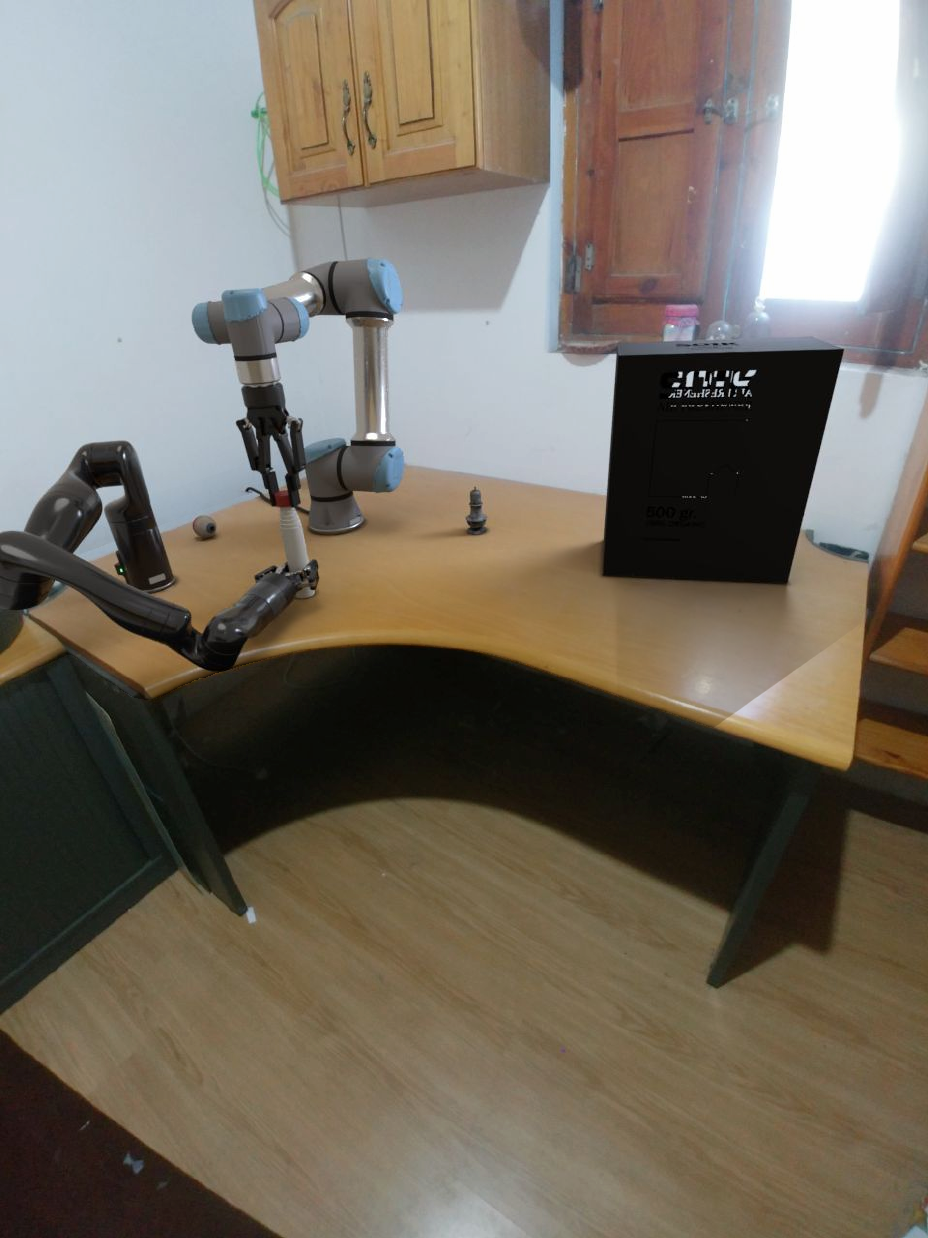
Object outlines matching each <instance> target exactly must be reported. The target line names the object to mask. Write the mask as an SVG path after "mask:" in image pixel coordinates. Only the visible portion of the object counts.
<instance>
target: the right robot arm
mask: <svg viewBox="0 0 928 1238" xmlns="http://www.w3.org/2000/svg"><path fill="white" fill-rule="evenodd" d="M403 302H404V301H403V289H402V285H401V280H400V278H399V275H398V272H397V270H396V269H395V267H394V266H393V264H392V263H391V262H390V261H388V260H387V259H385V258H372V257H368V258H362V259H361V258H360V259H349V260H334V261H326V262H324V263H320V264H317V265H315V266H312V267H308V268H306V269H304V270H301V271H298V272H295V273H293V274H292V275H290V277H289V278H288V280H286V281H283V282H279V283H276V284H272V285H269V286H266V287H262V288H259V287H256V288H255V287H253V288H239V289H226V290H223V292H222V293H221V300H217V301H216V300H215V301H211V300H208V301H205V302H199V303H197V304H196V305H195V306H194V307H193V308H192V311H191V324H192V327H193V330H194V333H195V335H196V336H197V337H198V339H199V340H201V341H202V342H204V343H205V344H209V345H218V346H221V345H228V344H229V345H230V346H231V349H232V353H233V359H234V365H235V370H236V373H237V379H238V383H239V384H240V385H243V386H241V388H240V392H241V395H242V400H243V405H244V407H245V408H246V413H245V414H246V415H245V417H243V418H240V419H237V420H236V421H235V426H236V427H237V429H238V430H239V432H240V434H241V438H242V441H243V446H244V449H245V453H246V455H247V456H246V457H247V459H248V463H249V466H250V469H251V471H253V472H258V473H259V474H260V475H261V479H262V484H263V488H264V489H265V490H267V492H268V496H269V497H268V496H267V497H266V496H265V495H264V492H262V491H260V490H259V489H256V488H254V487H252V486H248V487H246V488H245V490H244V492H246V493H247V492H249V491H252V492H254V493H256V494H258V495H259V496H260V497H261V498H262V499H263V500H264V501H266V502H268V503H270V505H271V507H272V508H273V507H274V508H275V507H277V506H276V502H275V497H274V494H275V493H276V492H279V491H280V487H279V482H278V478H277V473H276V470H275V471H274V470H273V469H274V467H272V455H271V453H272V452H271V437H272V439H273V441H274V442H275V443H276V446H277V448H278V452H279V453H280V456H281V459H282V462H283V464H284V467H285V470H286V472H287V473H285V475H284V480H285V484H286V490H288V495H289V500H290V505H291V508H295V510H298V511H300V512H302V513H304V514H306V515H308V528H309V529H308V530H310V531H311V532H312V533H314V534H317V535H323V536H324V535H325V536H327V535H329V536H331V535H339V534H340V535H341V534H345V533H350V532H353V531H355V530H357V529H359V528H361V527H362V526H363V525H364V523H365V519H364V514H363V512H362V510H361V508H360V505H359V504H358V501H357V500H356V498H355V495H354V492H367V493H375V494H381V493H392V492H394V491H396V490H397V488H398V487H399V485H400V484H401V482H402V481H403V480H402V479H403V476H404V472H405V456H404V451H403V450H402V449H401V447H399V446H397V442H396V441H397V440H396V438H395V437H394V436H393V435H392V433H391V431H390V430H391V429H390V427H391V426H390V387H389V386H390V382H389V381H390V379H389V377H390V375H389V330H390V329H391V328H392V326H394V323H395V319H394V318H395V317H394V315H398V314H399V313H400V312H401V310H402V306H403ZM316 316H345V323H346V324H347V325H348V326H349V327H350V328H351V331H352V333H351V334H352V353H353V354H352V359H353V381H354V382H353V384H354V385H353V387H354V390H353V391H354V414H355V415H354V416H355V419H354V420H355V432H354V434H353V435H352V436H351V437H350V438H349V439H350V441H349V442H350V445H347V441H346V439H345V438H342V437H334V438H328V439H323V440H320V441H319V440H318V441H315V442H313V443H309V444H308V445H306V446H305V445H304V438H303V437H304V436H303V426H304V419H302V418H301V417H298V418H296V417H293V416H291V415H290V412H289V411H288V410H287V408H286V403H287V402H286V396H285V389H284V386H283V385H284V384H282V382H280V381H281V380H282V376H281V371H280V366H279V359H278V355H277V350H276V345H277V344H282V343H289V342H292V343H294V342H296V341H298V340H300V339H303V338H304V337H305V336H306V334H307V333H308V331H309V329H310V323H311V322H310V318H314V317H316ZM287 428H288V430H289V432H288V430H287ZM254 429H255V430H254ZM289 438H290V439H289ZM302 471H305V477H306V481H307V486H308V492H309V498H310V507H309V510H307V509H305V508H303V507H301V506H299V505H301V504H302V501H301V496H300V489H301V488H302V484H301V479H300V473H301V472H302Z"/></svg>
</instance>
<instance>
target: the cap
mask: <svg viewBox="0 0 928 1238" xmlns="http://www.w3.org/2000/svg"><path fill="white" fill-rule="evenodd" d="M274 497H275V502H276V506H275V507H277V508H280V507H290V506H291V505H290V500H289V495H288V490H287V489H284V490H279V492H276V493H275V494H274Z"/></svg>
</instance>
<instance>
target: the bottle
mask: <svg viewBox="0 0 928 1238" xmlns="http://www.w3.org/2000/svg"><path fill="white" fill-rule="evenodd" d="M279 508H280V509H279V522H278V523H279V530H280V535H281V539H282V543H283V549H284V553H285V557H286V562H288V567H289V572H290V573H291V572H293V571H295V570H296V569H298V568H300V569H302V568H304V567H306V565H307V564H308V563H309V562H310V561H309V560H310V559H309V556H308V550H307V544H306V540H305V535H304V529H303V525H302V522H301V519H300V517H299V514H298V512H297V511H296V509H295V508H291V506H290V507H279ZM306 575H307V574H306V572H305V576H306ZM315 594H316V589H315V590H310V587H303V589H302V590H300V591H298V592H297V593H296V595H295V598H297V599H308V598H310V597H313V596H314V595H315Z"/></svg>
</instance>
